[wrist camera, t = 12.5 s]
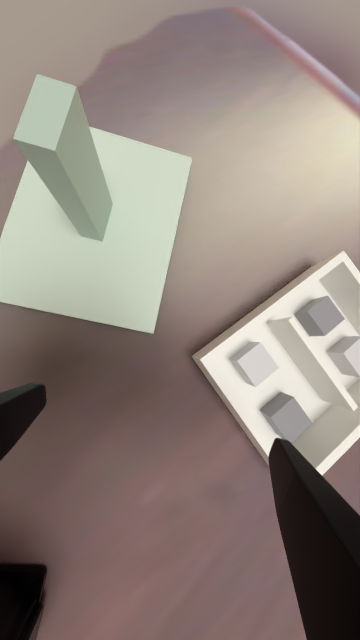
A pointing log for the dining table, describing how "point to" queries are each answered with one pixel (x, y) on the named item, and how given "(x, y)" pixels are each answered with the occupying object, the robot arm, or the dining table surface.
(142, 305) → the lid
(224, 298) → the dining table surface
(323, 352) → the tub
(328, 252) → the dining table surface
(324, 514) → the robot arm
